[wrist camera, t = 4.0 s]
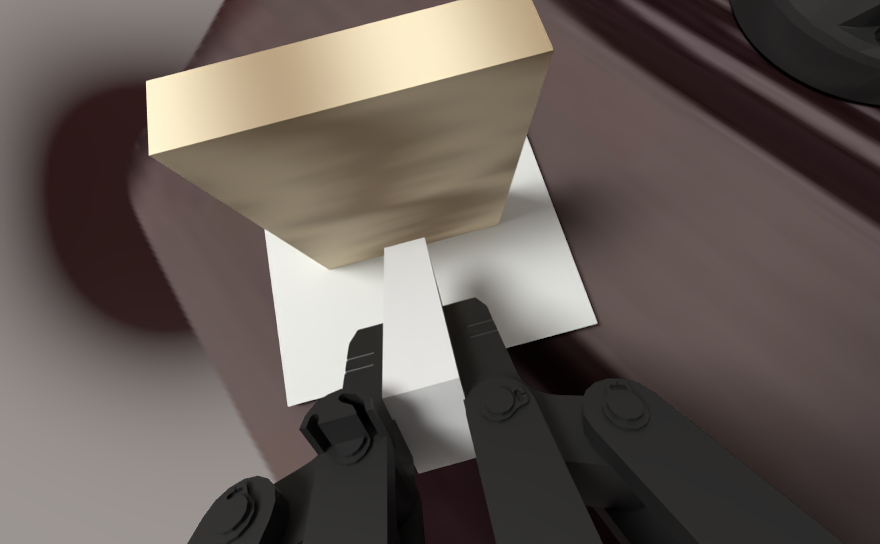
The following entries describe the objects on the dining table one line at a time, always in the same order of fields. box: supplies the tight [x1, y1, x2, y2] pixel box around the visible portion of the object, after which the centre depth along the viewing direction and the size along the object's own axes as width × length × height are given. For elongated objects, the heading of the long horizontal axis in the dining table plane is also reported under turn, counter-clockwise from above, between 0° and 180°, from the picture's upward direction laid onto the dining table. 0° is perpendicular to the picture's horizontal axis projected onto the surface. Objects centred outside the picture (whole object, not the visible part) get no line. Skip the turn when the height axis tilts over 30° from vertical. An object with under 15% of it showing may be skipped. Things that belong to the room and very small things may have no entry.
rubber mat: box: [265, 136, 598, 407], centre depth 18 cm, size 15×18×1 cm
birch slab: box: [146, 0, 553, 270], centre depth 12 cm, size 9×2×10 cm, turn 105°
